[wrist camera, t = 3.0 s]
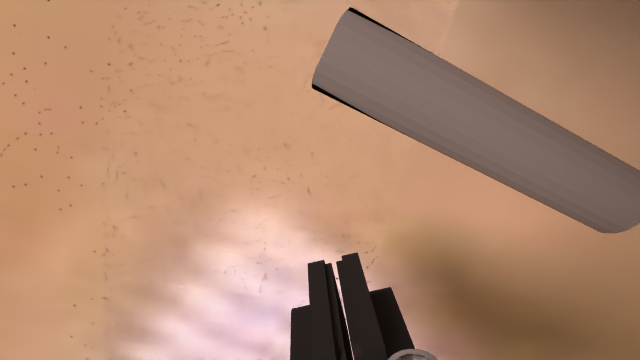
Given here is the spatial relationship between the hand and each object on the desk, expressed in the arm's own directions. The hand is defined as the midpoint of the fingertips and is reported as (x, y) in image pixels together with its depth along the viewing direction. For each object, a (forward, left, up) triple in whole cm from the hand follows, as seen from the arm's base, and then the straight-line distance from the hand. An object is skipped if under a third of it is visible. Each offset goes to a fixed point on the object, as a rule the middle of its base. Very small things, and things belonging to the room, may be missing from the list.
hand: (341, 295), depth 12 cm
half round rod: (-1, +9, -9) cm, 13 cm away
